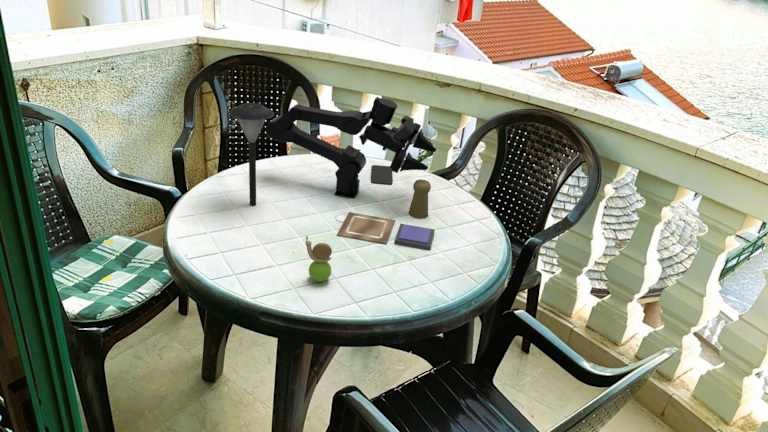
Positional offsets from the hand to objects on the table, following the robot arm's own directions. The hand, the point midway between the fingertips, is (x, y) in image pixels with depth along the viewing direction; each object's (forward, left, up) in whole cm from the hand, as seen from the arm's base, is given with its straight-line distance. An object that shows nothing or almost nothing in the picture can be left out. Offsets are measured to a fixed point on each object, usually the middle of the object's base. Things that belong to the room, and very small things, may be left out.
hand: (431, 159), depth 171 cm
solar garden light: (-49, -17, -17) cm, 55 cm away
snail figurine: (-20, -48, -17) cm, 55 cm away
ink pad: (0, -20, -16) cm, 26 cm away
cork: (-1, -5, -17) cm, 17 cm away
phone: (-17, +19, -17) cm, 31 cm away
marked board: (-14, -19, -16) cm, 29 cm away
